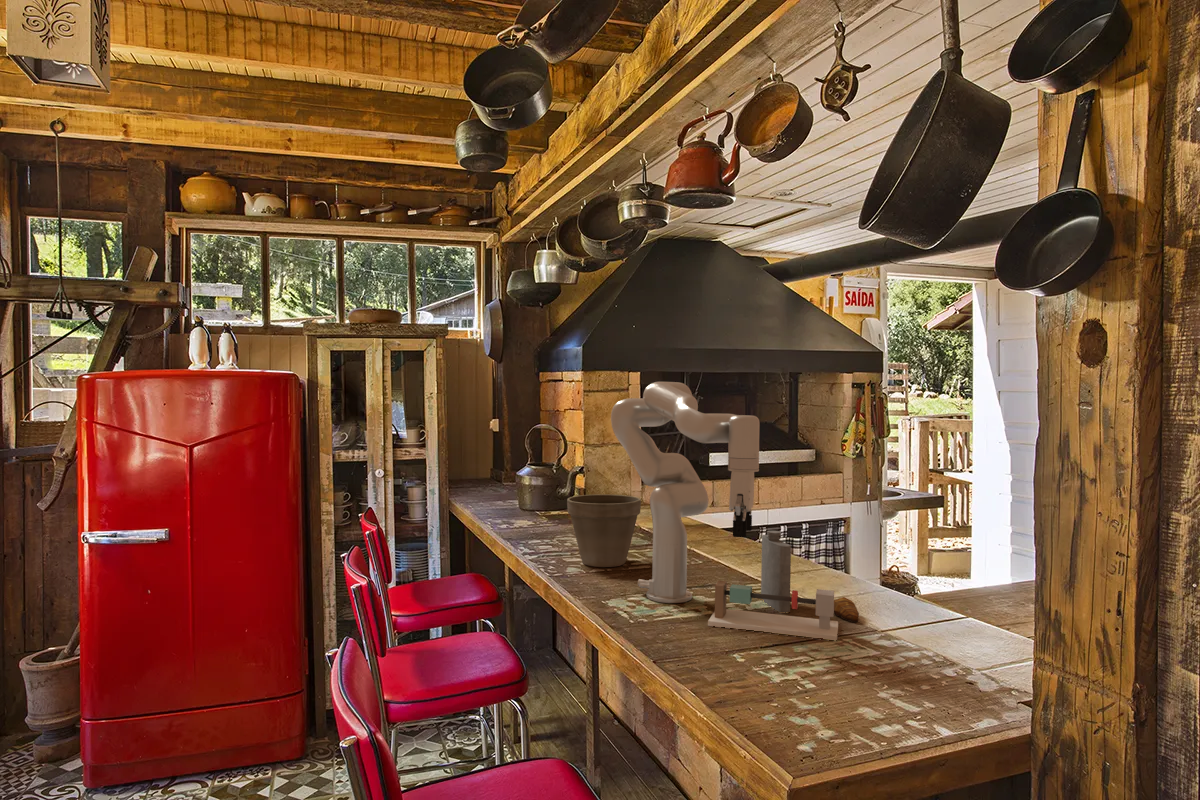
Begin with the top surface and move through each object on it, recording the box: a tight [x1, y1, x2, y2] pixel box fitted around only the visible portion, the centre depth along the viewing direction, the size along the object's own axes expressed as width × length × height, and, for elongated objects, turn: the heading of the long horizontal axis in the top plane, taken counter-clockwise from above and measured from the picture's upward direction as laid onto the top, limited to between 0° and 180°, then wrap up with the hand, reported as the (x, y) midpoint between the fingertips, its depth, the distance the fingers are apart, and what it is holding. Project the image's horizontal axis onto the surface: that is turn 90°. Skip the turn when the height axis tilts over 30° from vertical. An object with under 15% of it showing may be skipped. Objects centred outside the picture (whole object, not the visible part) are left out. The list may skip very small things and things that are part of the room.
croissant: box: [833, 596, 860, 623], centre depth 188 cm, size 14×7×5 cm, turn 6°
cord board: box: [707, 580, 839, 641], centre depth 178 cm, size 30×12×10 cm, turn 71°
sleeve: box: [729, 583, 753, 605], centre depth 181 cm, size 5×4×4 cm
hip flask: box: [760, 530, 792, 613], centre depth 197 cm, size 16×4×20 cm, turn 7°
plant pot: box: [566, 493, 642, 568], centre depth 244 cm, size 25×25×22 cm
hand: (742, 533), depth 181 cm, fingers open, 9 cm apart
